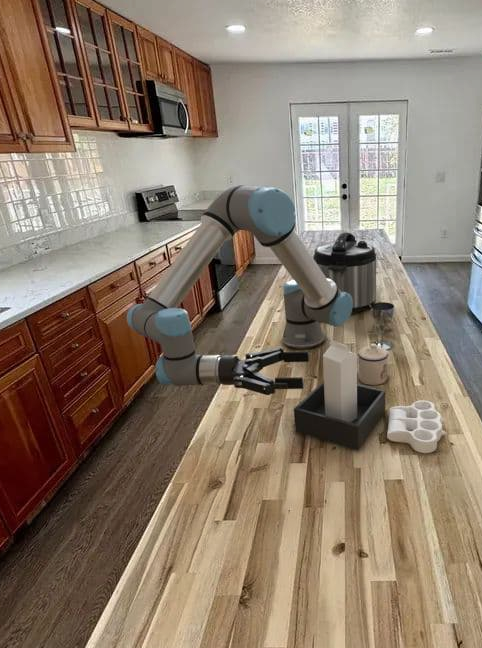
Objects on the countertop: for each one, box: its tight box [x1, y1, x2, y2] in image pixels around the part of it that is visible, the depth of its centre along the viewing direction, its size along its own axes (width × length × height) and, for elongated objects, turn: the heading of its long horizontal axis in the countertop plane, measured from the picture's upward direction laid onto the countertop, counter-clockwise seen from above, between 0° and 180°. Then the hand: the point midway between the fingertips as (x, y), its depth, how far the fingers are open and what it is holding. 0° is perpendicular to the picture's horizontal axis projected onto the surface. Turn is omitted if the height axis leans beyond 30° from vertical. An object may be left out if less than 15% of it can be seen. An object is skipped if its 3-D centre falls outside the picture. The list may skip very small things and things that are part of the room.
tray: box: [293, 380, 387, 451], centre depth 113 cm, size 18×18×7 cm
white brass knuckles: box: [386, 400, 448, 454], centre depth 110 cm, size 3×18×15 cm
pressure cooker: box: [312, 231, 377, 314], centre depth 188 cm, size 30×28×32 cm
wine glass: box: [370, 301, 395, 350], centre depth 153 cm, size 8×8×15 cm
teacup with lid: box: [357, 343, 389, 386], centre depth 134 cm, size 12×9×12 cm
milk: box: [322, 339, 358, 423], centre depth 109 cm, size 6×6×22 cm
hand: (305, 369), depth 108 cm, fingers open, 13 cm apart
